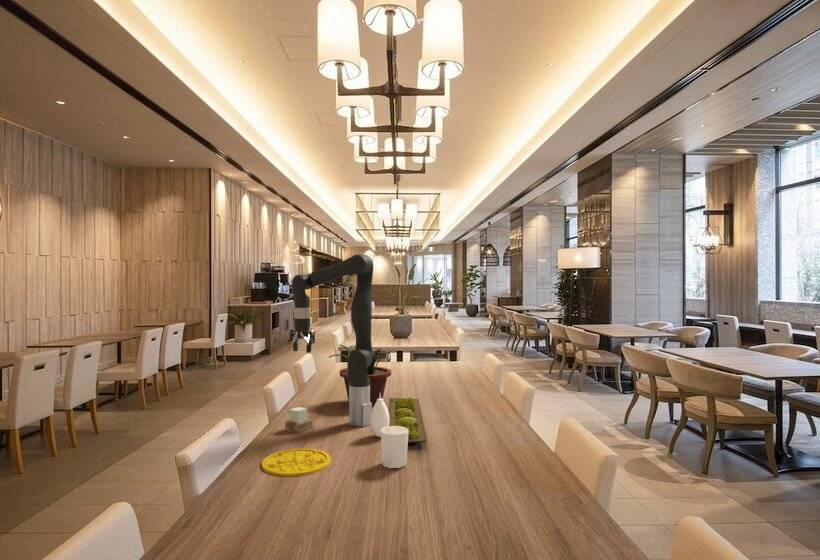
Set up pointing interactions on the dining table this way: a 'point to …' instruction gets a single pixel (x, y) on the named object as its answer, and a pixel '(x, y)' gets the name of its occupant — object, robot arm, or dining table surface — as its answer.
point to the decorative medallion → (296, 462)
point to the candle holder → (394, 446)
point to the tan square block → (299, 426)
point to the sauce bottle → (379, 417)
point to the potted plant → (370, 377)
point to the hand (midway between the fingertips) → (301, 351)
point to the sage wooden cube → (298, 414)
